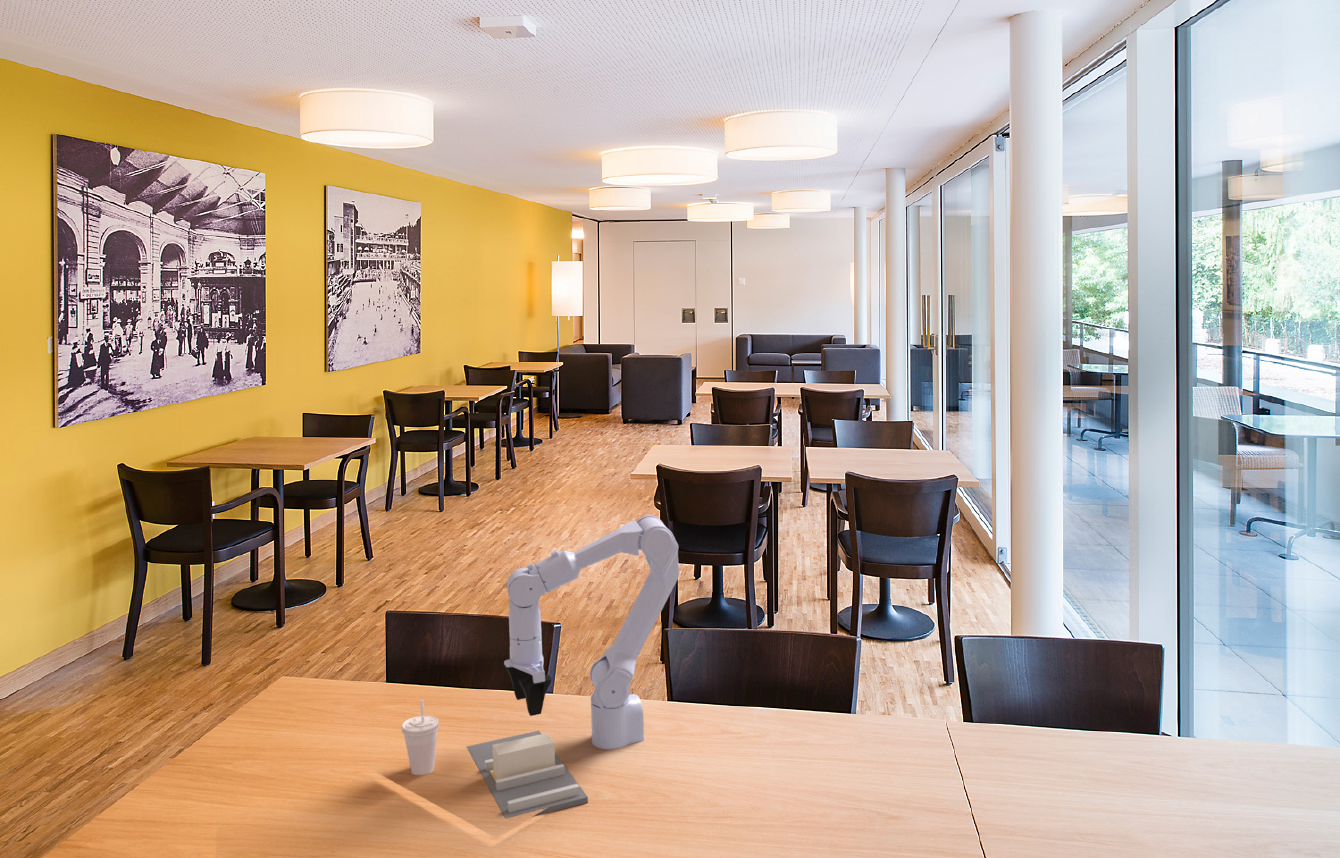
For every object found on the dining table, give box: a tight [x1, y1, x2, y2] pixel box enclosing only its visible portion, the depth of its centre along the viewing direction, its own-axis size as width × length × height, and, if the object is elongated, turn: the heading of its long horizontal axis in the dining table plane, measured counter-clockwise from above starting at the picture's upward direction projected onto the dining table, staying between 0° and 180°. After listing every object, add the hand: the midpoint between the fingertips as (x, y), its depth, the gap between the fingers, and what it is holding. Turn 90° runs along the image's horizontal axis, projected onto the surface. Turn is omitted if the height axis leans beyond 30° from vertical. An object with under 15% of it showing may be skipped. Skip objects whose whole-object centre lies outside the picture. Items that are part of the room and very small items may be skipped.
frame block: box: [492, 732, 556, 779], centre depth 160 cm, size 10×4×5 cm, turn 115°
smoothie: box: [401, 699, 440, 776], centre depth 161 cm, size 6×6×14 cm
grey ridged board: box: [466, 730, 589, 819], centre depth 161 cm, size 14×27×2 cm, turn 25°
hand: (528, 706), depth 167 cm, fingers open, 7 cm apart
